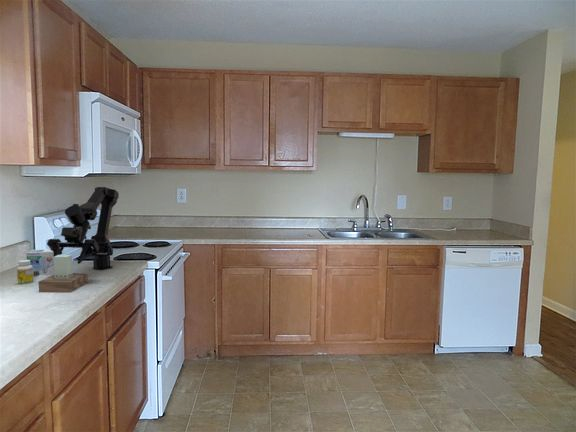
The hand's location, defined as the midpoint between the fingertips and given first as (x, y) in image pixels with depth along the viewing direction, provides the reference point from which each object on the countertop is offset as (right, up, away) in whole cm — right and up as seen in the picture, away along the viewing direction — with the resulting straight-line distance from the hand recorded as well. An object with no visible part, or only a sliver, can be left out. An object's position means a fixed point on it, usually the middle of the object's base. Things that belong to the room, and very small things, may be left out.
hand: (66, 263), depth 161 cm
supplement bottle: (-19, -9, +4) cm, 22 cm away
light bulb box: (-21, -8, +20) cm, 30 cm away
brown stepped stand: (0, -10, -1) cm, 10 cm away
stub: (0, -9, -1) cm, 9 cm away
